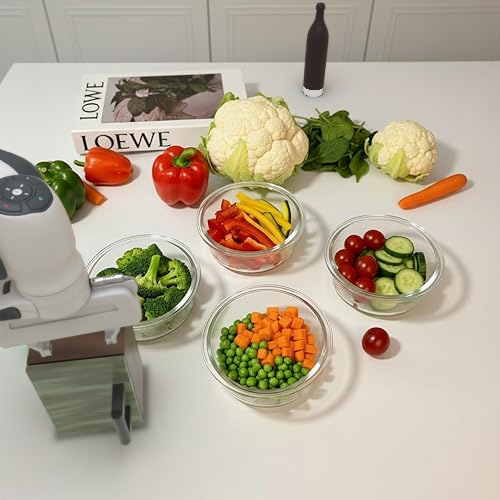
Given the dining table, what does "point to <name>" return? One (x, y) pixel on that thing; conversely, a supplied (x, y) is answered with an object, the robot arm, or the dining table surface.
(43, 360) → the cupboard
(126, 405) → the cupboard door
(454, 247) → the dining table surface
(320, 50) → the wine bottle
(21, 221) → the robot arm
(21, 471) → the dining table surface
